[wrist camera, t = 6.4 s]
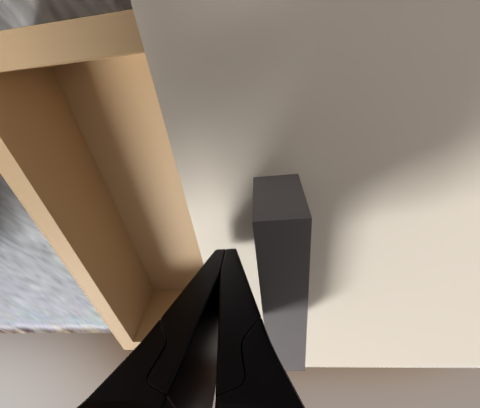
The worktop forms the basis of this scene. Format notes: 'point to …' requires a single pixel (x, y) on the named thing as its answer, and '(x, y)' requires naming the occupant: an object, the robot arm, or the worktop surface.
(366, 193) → the lid
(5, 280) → the worktop surface
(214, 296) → the robot arm
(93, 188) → the box
